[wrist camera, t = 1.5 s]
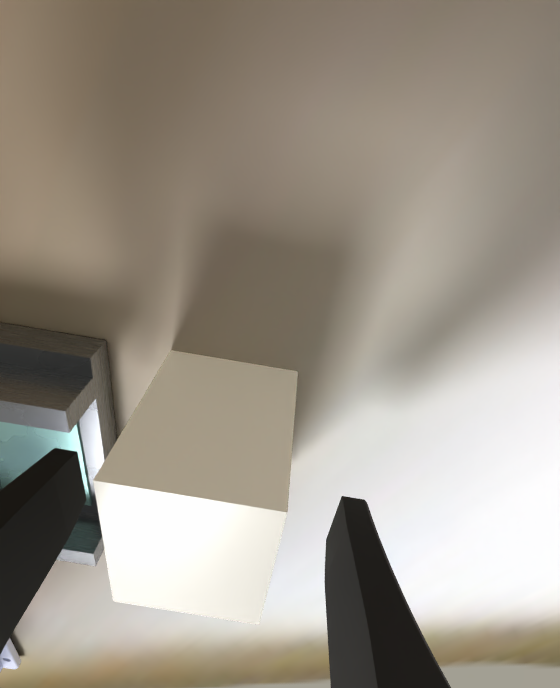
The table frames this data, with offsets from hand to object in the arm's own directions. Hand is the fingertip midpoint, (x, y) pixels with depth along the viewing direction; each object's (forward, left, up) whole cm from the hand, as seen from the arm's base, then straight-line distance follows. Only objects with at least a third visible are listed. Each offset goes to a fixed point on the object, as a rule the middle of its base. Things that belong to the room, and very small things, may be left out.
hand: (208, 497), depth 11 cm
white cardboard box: (0, 0, -3) cm, 3 cm away
